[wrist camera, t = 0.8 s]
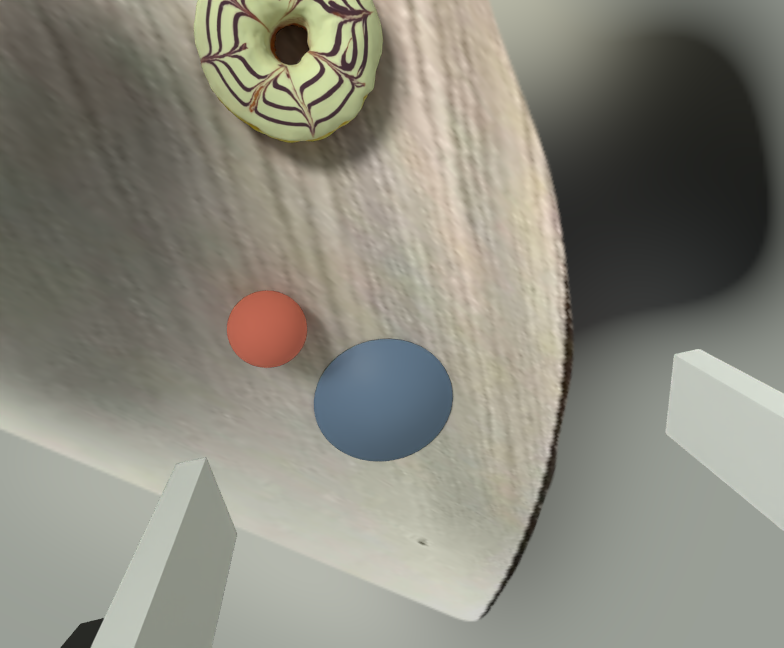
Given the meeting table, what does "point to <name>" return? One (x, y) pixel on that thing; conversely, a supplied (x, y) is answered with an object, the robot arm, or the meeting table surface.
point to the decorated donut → (290, 82)
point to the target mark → (383, 400)
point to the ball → (267, 329)
